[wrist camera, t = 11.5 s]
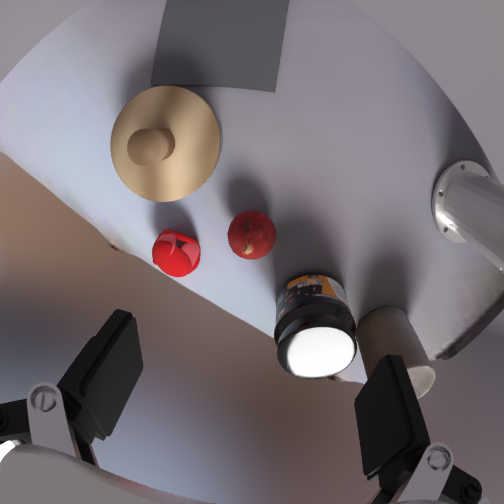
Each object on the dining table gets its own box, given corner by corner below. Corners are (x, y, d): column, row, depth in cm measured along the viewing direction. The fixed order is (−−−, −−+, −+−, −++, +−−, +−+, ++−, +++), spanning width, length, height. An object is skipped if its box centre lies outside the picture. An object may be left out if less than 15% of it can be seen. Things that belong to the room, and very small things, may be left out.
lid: (228, 88, 25) (217, 80, 20) (214, 206, 31) (202, 221, 26) (119, 89, 25) (94, 86, 21) (114, 194, 31) (91, 205, 27)
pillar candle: (346, 344, 45) (361, 416, 31) (370, 300, 40) (399, 371, 27) (391, 351, 45) (413, 415, 31) (417, 309, 41) (452, 374, 27)
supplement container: (348, 267, 39) (369, 319, 28) (340, 324, 43) (352, 380, 32) (275, 267, 40) (272, 321, 29) (276, 325, 44) (272, 383, 33)
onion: (231, 204, 37) (218, 225, 29) (275, 202, 36) (273, 223, 29) (235, 245, 39) (224, 273, 32) (277, 244, 38) (275, 273, 31)
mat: (289, -6, 23) (289, -8, 23) (274, 92, 30) (274, 91, 29) (171, -7, 24) (169, -9, 23) (152, 85, 30) (150, 84, 30)
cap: (149, 220, 35) (134, 263, 35) (184, 231, 33) (168, 278, 33) (180, 235, 43) (167, 272, 42) (212, 245, 41) (199, 284, 40)
